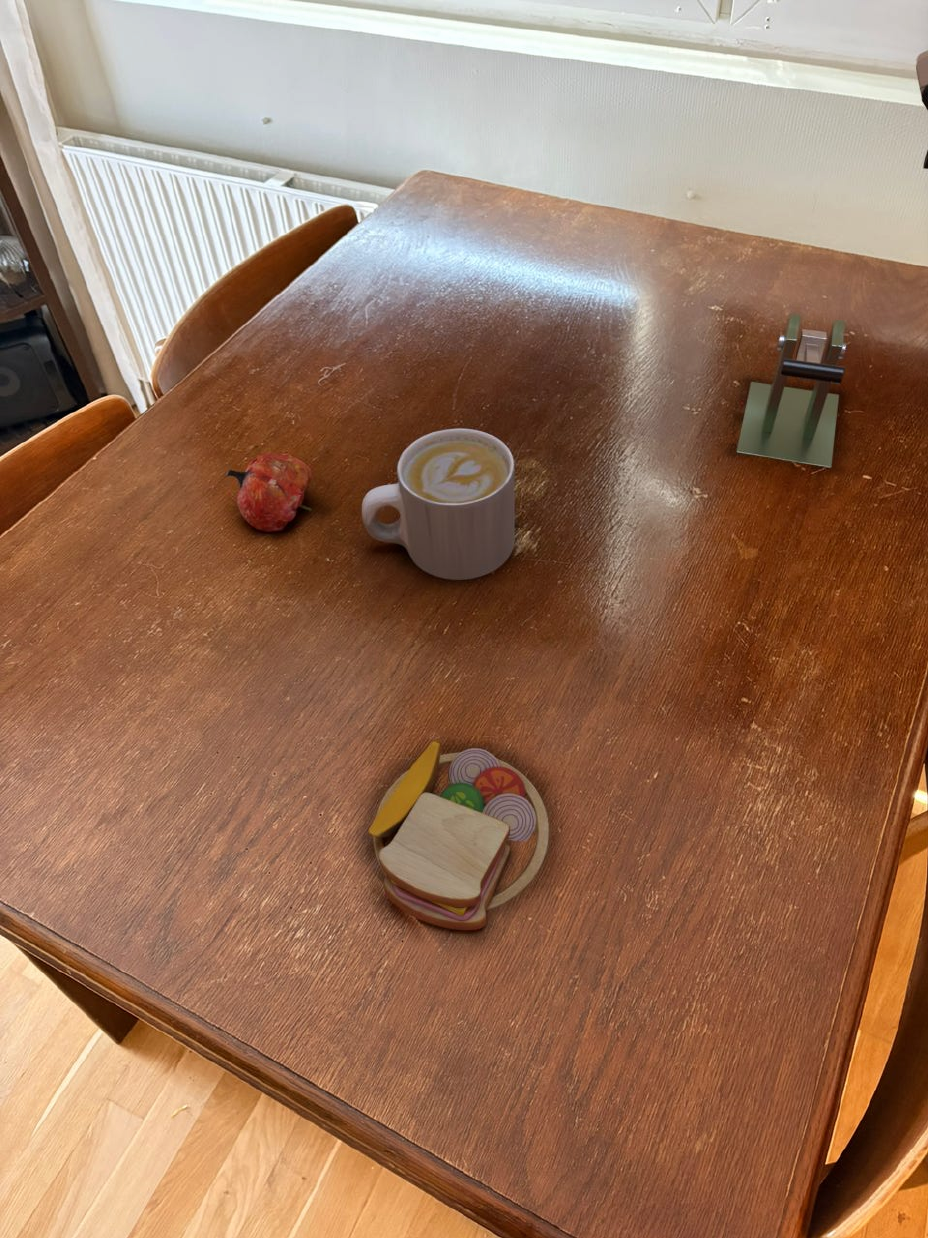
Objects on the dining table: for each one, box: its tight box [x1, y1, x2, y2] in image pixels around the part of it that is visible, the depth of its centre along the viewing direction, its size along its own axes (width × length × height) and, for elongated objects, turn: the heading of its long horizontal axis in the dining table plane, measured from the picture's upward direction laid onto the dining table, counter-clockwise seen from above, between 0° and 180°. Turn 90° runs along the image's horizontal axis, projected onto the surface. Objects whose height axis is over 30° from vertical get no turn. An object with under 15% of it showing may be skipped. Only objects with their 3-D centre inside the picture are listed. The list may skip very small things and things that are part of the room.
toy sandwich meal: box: [368, 740, 550, 931], centre depth 63 cm, size 12×14×5 cm
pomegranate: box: [224, 453, 313, 533], centre depth 84 cm, size 7×7×10 cm
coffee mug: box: [361, 427, 516, 581], centre depth 80 cm, size 13×10×10 cm
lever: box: [780, 328, 845, 385], centre depth 81 cm, size 11×5×2 cm, turn 162°
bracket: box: [735, 313, 848, 469], centre depth 87 cm, size 12×9×12 cm
